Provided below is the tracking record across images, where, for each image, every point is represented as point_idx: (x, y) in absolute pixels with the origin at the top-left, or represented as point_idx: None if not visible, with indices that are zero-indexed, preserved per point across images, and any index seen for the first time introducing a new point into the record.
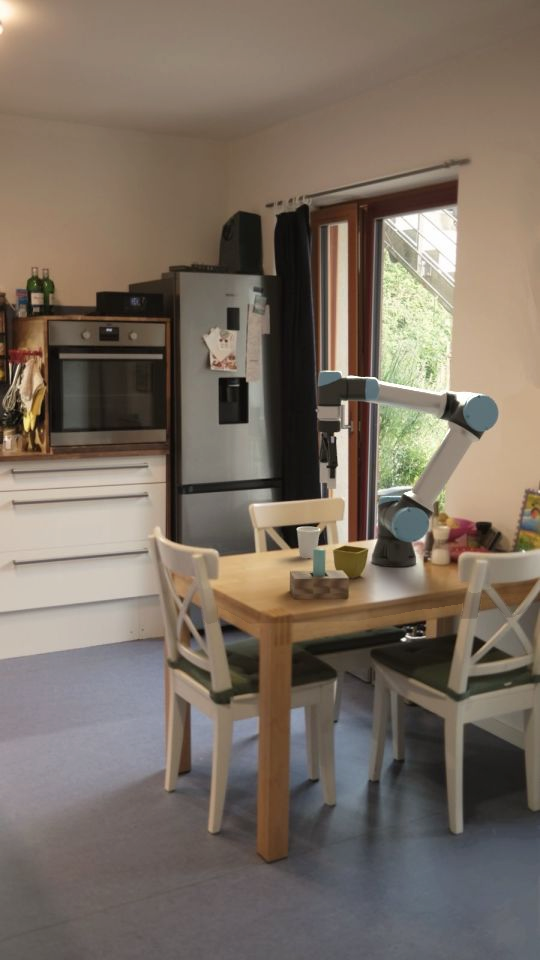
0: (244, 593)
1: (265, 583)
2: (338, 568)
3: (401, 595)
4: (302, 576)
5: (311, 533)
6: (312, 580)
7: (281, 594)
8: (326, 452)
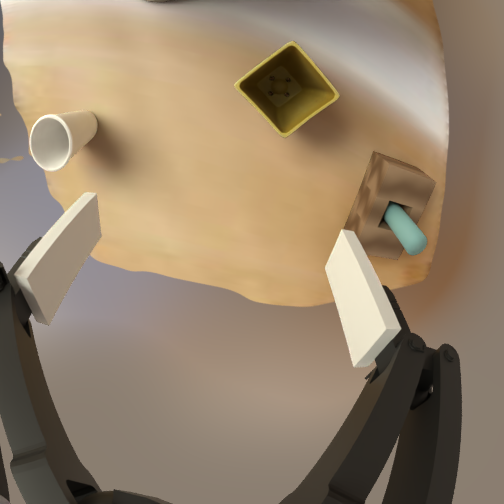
0: (327, 287)
1: (283, 251)
2: (285, 117)
3: (437, 82)
4: (391, 245)
5: (73, 138)
6: None
7: None
8: (42, 404)
